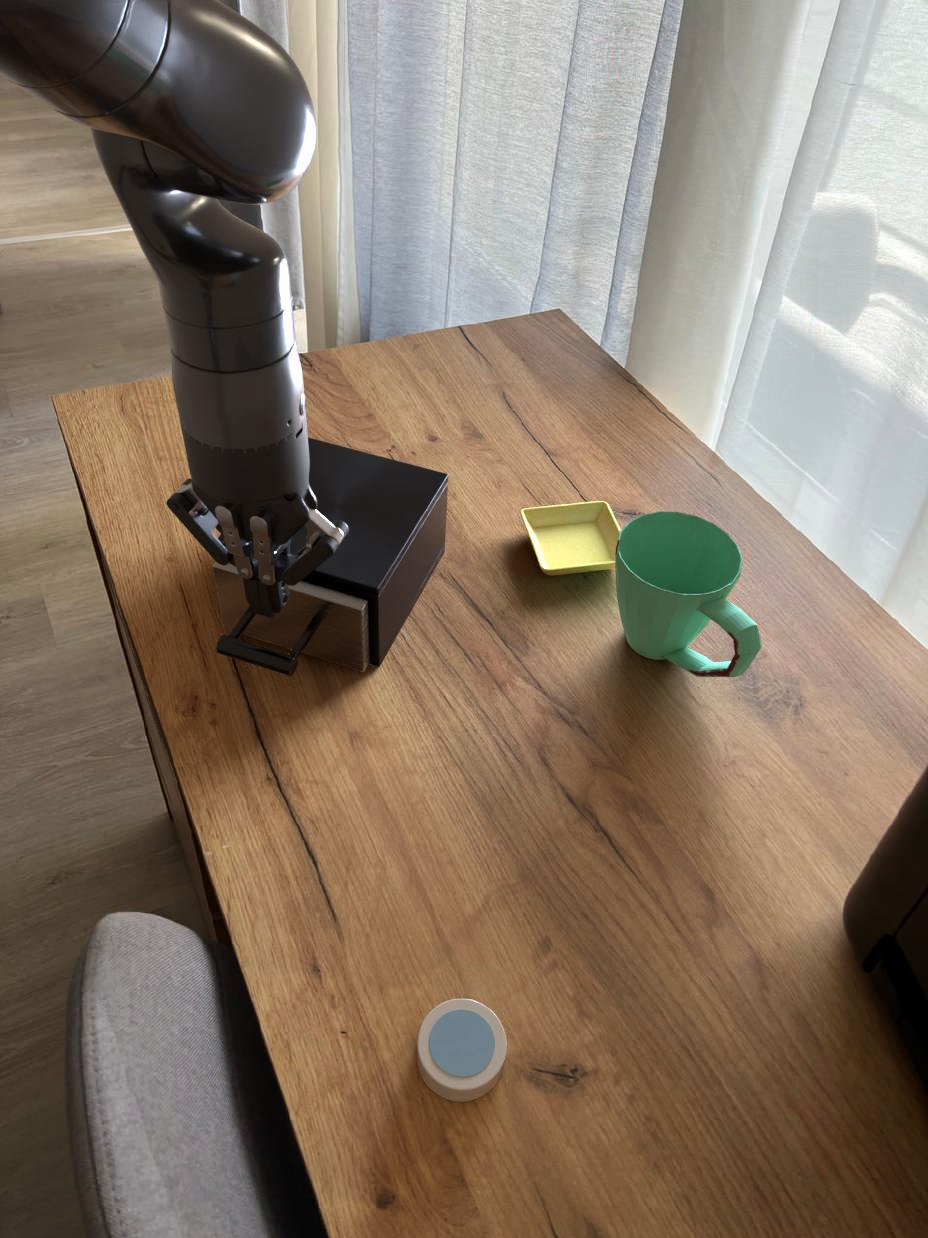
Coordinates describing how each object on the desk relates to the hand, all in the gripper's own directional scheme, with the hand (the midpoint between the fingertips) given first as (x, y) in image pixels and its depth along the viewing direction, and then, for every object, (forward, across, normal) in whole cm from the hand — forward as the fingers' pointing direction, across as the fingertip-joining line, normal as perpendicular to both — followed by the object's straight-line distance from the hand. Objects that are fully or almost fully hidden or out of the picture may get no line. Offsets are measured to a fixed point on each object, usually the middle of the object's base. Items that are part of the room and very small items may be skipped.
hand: (269, 608), depth 70 cm
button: (+8, +23, -22) cm, 33 cm away
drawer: (+7, 0, +7) cm, 10 cm away
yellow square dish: (+8, +18, +24) cm, 31 cm away
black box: (+8, 0, +12) cm, 14 cm away
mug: (+8, +29, +14) cm, 33 cm away
